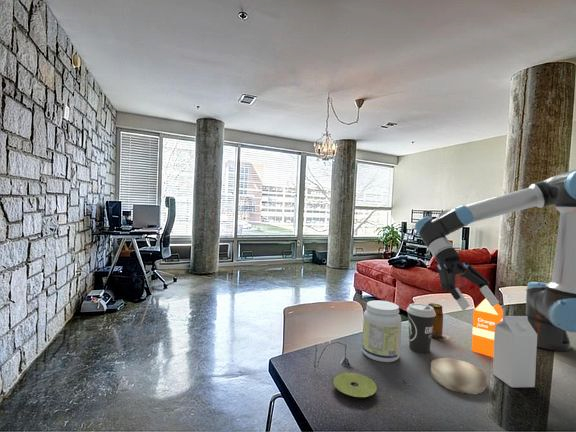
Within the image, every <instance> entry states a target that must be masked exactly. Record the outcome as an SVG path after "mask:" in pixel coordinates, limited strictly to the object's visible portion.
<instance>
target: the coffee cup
mask: <svg viewBox="0 0 576 432" xmlns="http://www.w3.org/2000/svg"><path fill="white" fill-rule="evenodd" d="M406 312H407V320H408V321H407V322H408V324H407V325H408V341H409V342H408V343H409V349H410V350H412V351H414V352H416V353H419V354H427V353H430V351H431V349H430V348H431V344H432V343H431V342H432V337H431V336H432V329H433V322H434V317H435V316H436V313H435V311H434V308H433V307H431V306H429V305H428V304H424V303H415V302H414V303H409V305H408V306H407V308H406Z"/></svg>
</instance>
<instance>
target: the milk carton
mask: <svg viewBox="0 0 576 432" xmlns="http://www.w3.org/2000/svg"><path fill="white" fill-rule="evenodd" d="M527 319H528V316H526V315H503V321H501V322H499V323H498V324H496V325H495V334H494V354H493V357H492V359H493V360H492V375H493V376H494V377H497V378H498V379H499V380H501V381H502V382H503V383H504V384H506V385H507V386H509V387H511V388H535V387H536V386H535V385H536V369H537V367H536V366H537V348H538V347H537V333H536V332H535V330H534V329H533V327H532V326H531V324H530V323H529V321H528V320H527Z"/></svg>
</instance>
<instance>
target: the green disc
mask: <svg viewBox="0 0 576 432" xmlns="http://www.w3.org/2000/svg"><path fill="white" fill-rule="evenodd" d="M332 384H333V385H334V387H335V388H336V389H337V390H338V391H339V392H341V393H343V394H345V395H347V396H351V397H355V398H367V397H370V396H373V395H374V394H375V393H376V392H377V389H378V388H377V385H376V383H375V381H374V380H373V379H372V378H370V377H368V376H366V375H364V374H361V373H355V372H343V373H340V374H337V375H336V376H335V377H333V383H332Z"/></svg>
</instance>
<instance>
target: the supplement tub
mask: <svg viewBox="0 0 576 432" xmlns="http://www.w3.org/2000/svg"><path fill="white" fill-rule="evenodd" d="M365 308H366V310H365V311H364V313H363V322H362V323H363V326H362V352H363V354H364V356H366V357H367V358H369V359H371V360H373V361H376V362H381V363H392V362H395V361H397V360H398V359H399V358H400V355H401V339H402V316H401V315H400V314H399V313H400V306H399V305H398V304H397V303H394V302H391V301H387V300H379V299H378V300H369V301H367V302H366V307H365Z"/></svg>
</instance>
